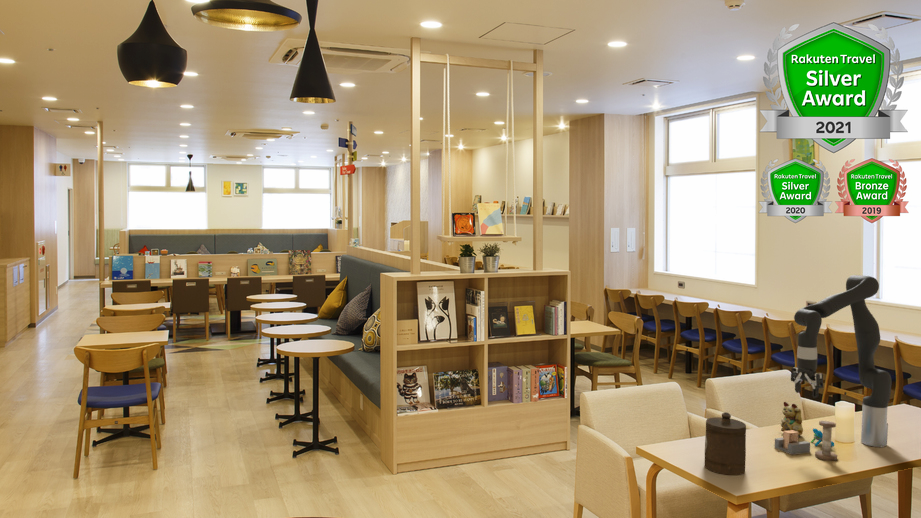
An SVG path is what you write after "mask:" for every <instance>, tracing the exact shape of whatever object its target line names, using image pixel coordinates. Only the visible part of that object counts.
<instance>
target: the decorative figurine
mask: <svg viewBox="0 0 921 518" xmlns="http://www.w3.org/2000/svg"><path fill="white" fill-rule="evenodd" d="M783 406H784V407H782V414H783V415H784V416H783V417H782V418H781V423H780V426H781V428H780V431H781V432H783V433H784V431H789V430H794V431H797V432H798V438H799V437H801V436H802V435H803V432H804V429H803V428H804V427H803V425H802V424H803V418H802V410H801V408H799V407H798V405H797V404H796V403H791V405H790V403H788V402H787V401H783Z"/></svg>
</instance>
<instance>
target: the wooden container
mask: <svg viewBox="0 0 921 518" xmlns="http://www.w3.org/2000/svg"><path fill="white" fill-rule="evenodd" d="M731 417H732V415H731V414H730V413H729V412H726V411H725V412H722V413H721V417H718V416H717V417H709V418H707V419H706V421H705V440H704V468H706V469H707V470H709V471H711V472H713V473H717V474H721V475H727V476H738V475H742V474H744V473H745V472H746V461H747V460H746V458H747V457H746V454H747V452H746V451H747V449H746V447H747V446H746V445H747V444H746V439H747V438H746V437H747V436H746V435H747V425H746V423H745V422H743V421H740V420H737V419H735V418H734V419H733V418H731Z"/></svg>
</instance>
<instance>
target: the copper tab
mask: <svg viewBox="0 0 921 518" xmlns="http://www.w3.org/2000/svg"><path fill="white" fill-rule="evenodd" d="M782 438H783V447H784V448H786V449H788V444H789V443H796V442H799V437H798V432H797V431H794V430H789V431H784V432H783V436H782Z"/></svg>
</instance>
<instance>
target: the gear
mask: <svg viewBox="0 0 921 518" xmlns="http://www.w3.org/2000/svg"><path fill="white" fill-rule="evenodd" d="M812 432H813V439H811V441H810V443H813V442H815V440H816V441H817V442H815V444H814V446H815V447H818V446H819V445H820V444H821V443H822V436H823V431H821V430H819V429H817V428H812ZM834 446H835V443H834V441H832V440H831V447H834Z"/></svg>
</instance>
